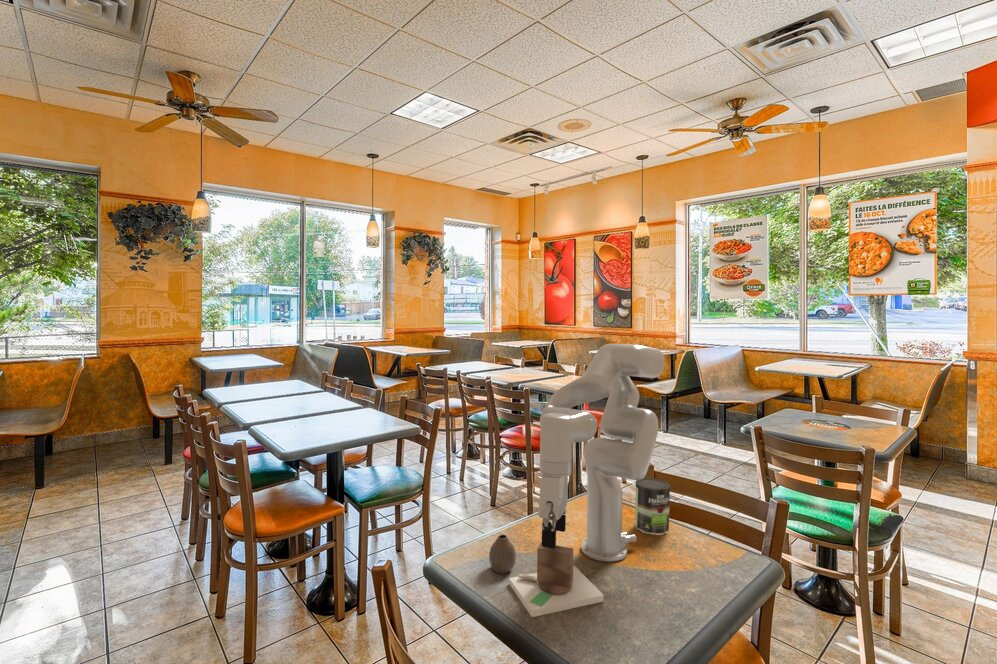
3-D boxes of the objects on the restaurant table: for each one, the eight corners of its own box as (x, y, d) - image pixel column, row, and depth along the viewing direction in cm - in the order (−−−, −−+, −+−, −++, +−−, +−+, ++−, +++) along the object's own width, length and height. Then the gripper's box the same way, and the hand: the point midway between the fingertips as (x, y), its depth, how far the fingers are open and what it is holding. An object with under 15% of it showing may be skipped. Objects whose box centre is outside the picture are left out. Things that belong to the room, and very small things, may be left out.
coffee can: (676, 534, 149) (676, 488, 148) (644, 537, 147) (645, 490, 146) (658, 520, 159) (659, 476, 158) (628, 522, 157) (629, 478, 156)
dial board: (574, 571, 127) (574, 565, 127) (603, 601, 114) (603, 594, 114) (509, 583, 121) (509, 577, 121) (531, 617, 108) (531, 609, 108)
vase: (513, 578, 124) (513, 543, 123) (486, 575, 125) (486, 541, 125) (517, 564, 130) (517, 531, 130) (492, 561, 132) (492, 529, 131)
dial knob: (575, 579, 120) (575, 543, 119) (567, 597, 112) (568, 559, 112) (523, 569, 124) (524, 535, 124) (513, 585, 117) (514, 549, 116)
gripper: (549, 455, 125) (547, 522, 126) (529, 474, 109) (527, 551, 109) (578, 459, 123) (576, 527, 123) (562, 479, 107) (561, 557, 107)
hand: (553, 538), depth 116 cm, fingers open, 9 cm apart
